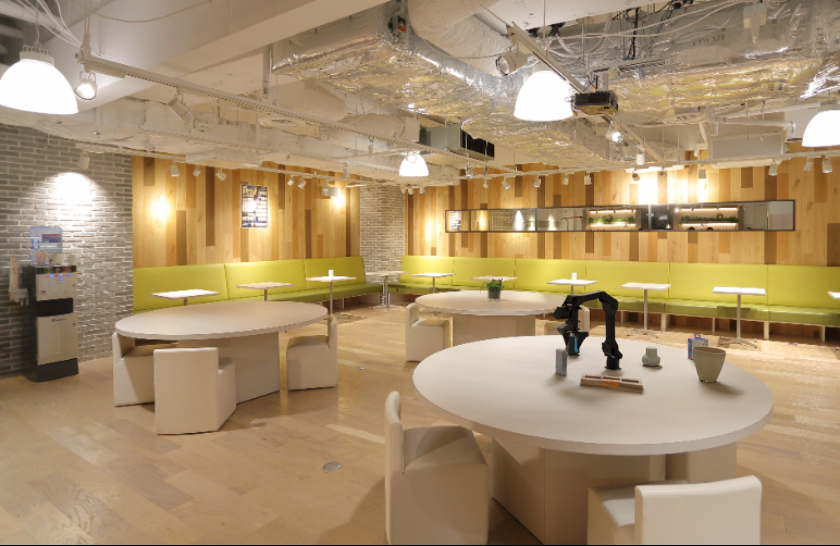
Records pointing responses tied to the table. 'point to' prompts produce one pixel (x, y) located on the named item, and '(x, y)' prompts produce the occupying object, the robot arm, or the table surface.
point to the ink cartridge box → (696, 344)
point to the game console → (572, 345)
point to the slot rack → (612, 382)
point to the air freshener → (651, 357)
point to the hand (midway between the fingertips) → (572, 347)
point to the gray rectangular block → (561, 362)
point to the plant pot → (708, 362)
